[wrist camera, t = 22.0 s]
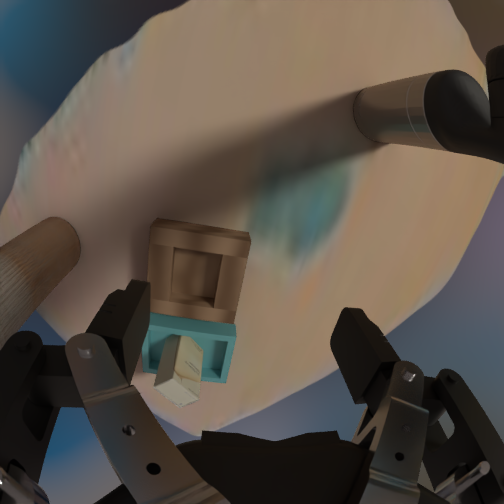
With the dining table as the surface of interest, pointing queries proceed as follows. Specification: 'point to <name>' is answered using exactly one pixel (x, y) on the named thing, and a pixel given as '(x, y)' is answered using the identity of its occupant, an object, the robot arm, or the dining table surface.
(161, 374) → the skincare box
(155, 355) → the tray
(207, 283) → the wooden square frame
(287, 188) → the dining table surface
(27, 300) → the vase
